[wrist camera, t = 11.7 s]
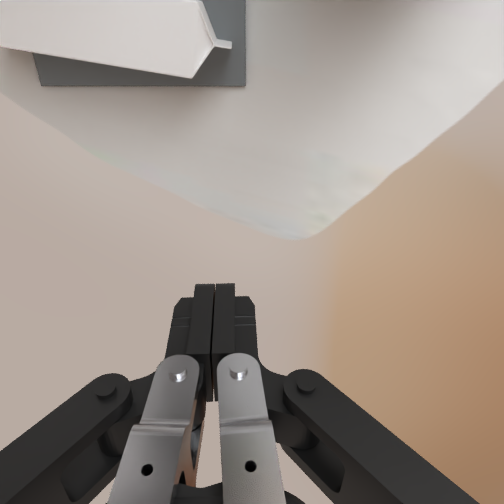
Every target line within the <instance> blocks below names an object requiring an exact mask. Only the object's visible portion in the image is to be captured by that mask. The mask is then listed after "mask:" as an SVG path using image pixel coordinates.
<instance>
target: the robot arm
mask: <svg viewBox="0 0 504 504" xmlns="http://www.w3.org/2000/svg"><path fill="white" fill-rule="evenodd" d="M213 389H214V395H215V401H218V403H219V422H220V443H221V462H222V463H221V464H222V482H221V483H218V484H214V485H211V486H208V487H205V488H196V476H197V469H198V462H199V455H200V448H201V442H202V435H203V429H204V417H205V411H206V402H212V401H213ZM276 442H277V443H280V444H281V447H282V449H283V450H284V451H285V452H286V454H287V455H288V456H289V457H290V458H291V459H292V460H293V461H294V462H295V463H296V464H297V465H298V466H299V467H300V468H301V469H302V470H303V472H305V474H306V475H307V476H308V477H309V478H310V479H311V480H312V481H313V482H314V483H315V484H316V485H317V486H318V487H319V488H320V489H321V491H322V492H323V493H324V494H325V495H326V496H327V497H328V498H329V499H330V500H331V501H332V502H333V503H334V504H479V503H478V502H477V501H475V500H474V499H473V498H472V497H471V496H469V495H468V494H467V493H466V492H464V491H463V490H462V489H461V488H459V487H458V486H457V485H456V484H454V483H453V482H452V481H451V480H450V479H448V478H447V477H446V476H445V475H443V474H442V473H441V472H440V471H438V470H437V469H436V468H435V467H434V466H432V465H431V464H430V463H429V462H427V461H426V460H425V459H424V458H422V457H421V456H420V455H419V454H417V453H416V452H415V451H414V450H413V449H411V448H410V447H409V446H408V445H406V444H405V443H404V442H403V441H401V440H400V439H399V438H398V437H397V436H395V435H394V434H393V433H391V432H390V431H389V430H388V429H387V428H385V427H384V426H383V425H382V424H381V423H379V422H378V421H377V420H376V419H374V418H373V417H372V416H371V415H369V414H368V413H367V412H366V411H365V410H363V409H362V408H361V407H360V406H358V405H357V404H356V403H355V402H353V401H352V400H351V399H350V398H349V397H347V396H346V395H345V394H344V393H342V392H341V391H340V390H339V389H337V388H336V387H335V386H334V385H332V384H331V383H330V382H329V381H328V380H326V379H325V378H324V377H323V376H321V375H320V374H319V373H316V372H315V371H312V370H308V369H300V370H295V371H293V372H291V373H290V374H289V375H288V376H284V375H280V374H276V373H273V372H271V371H269V370H268V369H266V368H265V367H264V366H263V365H262V364H261V362H260V361H259V358H258V349H257V334H256V320H255V305H254V304H253V302H252V301H251V299H250V298H249V297H248V296H240V297H239V296H238V297H235V284H234V283H227V284H216V290H215V284H196V285H195V291H194V297H193V298H191V297H190V298H181V299H180V300H179V302H178V303H177V304H176V306H175V307H174V312H173V319H172V323H171V328H170V334H169V338H168V344H167V349H166V355H165V359H164V360H163V361H162V362H161V363H160V364H159V365H158V367H157V369H156V371H155V372H153V373H152V374H150V375H148V376H146V377H143V378H140V379H136V380H133V381H128V379H127V378H126V377H125V376H123V375H120V374H116V373H111V374H105V375H102V376H100V377H98V378H96V379H94V380H93V381H92V382H90V383H89V384H88V385H86V386H85V387H84V388H82V389H81V390H80V391H79V392H77V393H76V394H74V395H73V396H72V397H70V398H69V399H68V400H67V401H65V402H64V403H63V404H61V405H60V406H59V407H57V408H56V409H55V410H54V411H52V412H51V413H50V414H48V415H47V416H46V417H44V418H43V419H42V420H40V421H39V422H38V423H37V424H35V425H34V426H33V427H31V428H30V429H29V430H27V431H26V432H25V433H23V434H22V435H21V436H20V437H18V438H17V439H16V440H14V441H13V442H12V443H10V444H9V445H8V446H7V447H5V448H4V449H3V450H1V451H0V504H89V503H90V502H91V501H92V500H93V499H94V498H95V497H96V496H97V495H98V494H99V493H100V492H101V491H102V490H103V489H104V488H105V487H106V486H107V485H108V484H109V483H110V482H111V481H112V480H113V479H114V478H115V477H116V478H115V481H114V484H113V487H112V491H111V493H110V497H109V500H108V503H106V504H305V503H304V502H303V501H301V500H300V499H299V498H297V497H296V496H294V495H292V494H291V493H289V492H287V491H284V488H283V483H282V477H281V471H280V465H279V460H278V454H277V448H276Z"/></svg>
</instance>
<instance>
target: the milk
mask: <svg viewBox="0 0 504 504" xmlns="http://www.w3.org/2000/svg"><path fill="white" fill-rule="evenodd" d="M0 47H3V48H9V49H15V50H21V51H27V52H33V53H39V54H45V55H51V56H57V57H63V58H69V59H75V60H81V61H87V62H93V63H99V64H105V65H111V66H117V67H123V68H129V69H135V70H142V71H148V72H154V73H160V74H166V75H172V76H178V77H184V78H190V79H192V78H193V76H194V75H195V74H196V72H197V71H198V69H199V68H200V66H201V65H202V63H203V62H204V61H205V59H206V58H207V56H208V55H209V53H210V52H211V51H212V49H213V48H214V47H221V48H227V49H232V42H231V41H226V40H221V39H217V38H216V35H215V33H214V30H213V28H212V25H211V22H210V20H209V17H208V15H207V12H206V9H205V7H204V4H203V2H202V1H200V0H0Z"/></svg>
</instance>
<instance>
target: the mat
mask: <svg viewBox="0 0 504 504" xmlns="http://www.w3.org/2000/svg"><path fill="white" fill-rule="evenodd" d="M200 1H202V2H203V4H204V7H205V9H206V12H207V15H208V17H209V20H210V22H211V25H212V28H213V30H214V33H215V35H216V38H217V39H221V40H226V41H231V42H232V49H227V48H221V47H214V48H213V49H212V51H211V52H210V53H209V55H208V56H207V58H206V59H205V61H204V62H203V63H202V65H201V66H200V68H199V69H198V71H197V72H196V74H195V75H194V76H193V78H192V79H190V78H184V77H178V76H172V75H166V74H160V73H154V72H148V71H142V70H135V69H129V68H123V67H117V66H111V65H105V64H99V63H93V62H87V61H81V60H75V59H69V58H63V57H57V56H51V55H45V54H39V53H33V56H34V60H35V64H36V68H37V71H38V75H39V79H40V83H41V86H246V47H245V0H200Z"/></svg>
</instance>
